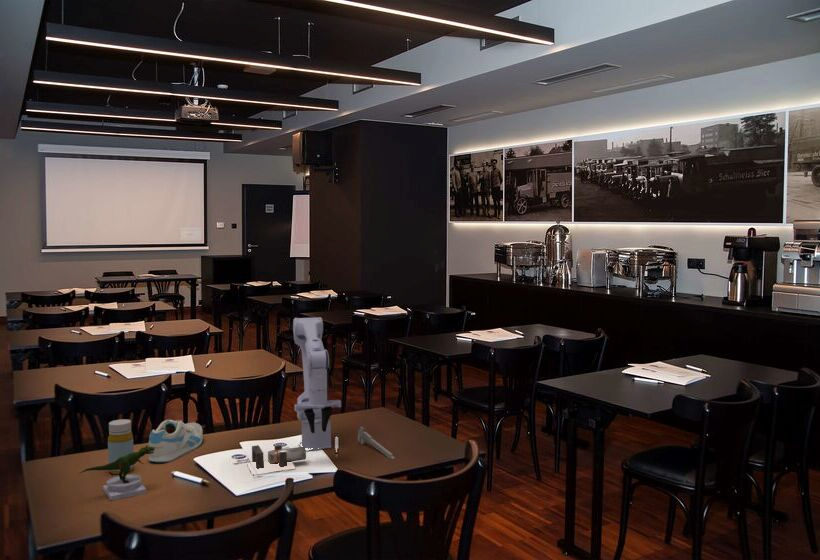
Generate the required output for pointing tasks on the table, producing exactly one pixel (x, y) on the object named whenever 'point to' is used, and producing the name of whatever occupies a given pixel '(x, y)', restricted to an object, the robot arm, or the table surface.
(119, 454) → the bottle
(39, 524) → the table surface
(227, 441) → the table surface
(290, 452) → the tube
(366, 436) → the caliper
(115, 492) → the dinosaur figurine
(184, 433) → the sneaker
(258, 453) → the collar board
